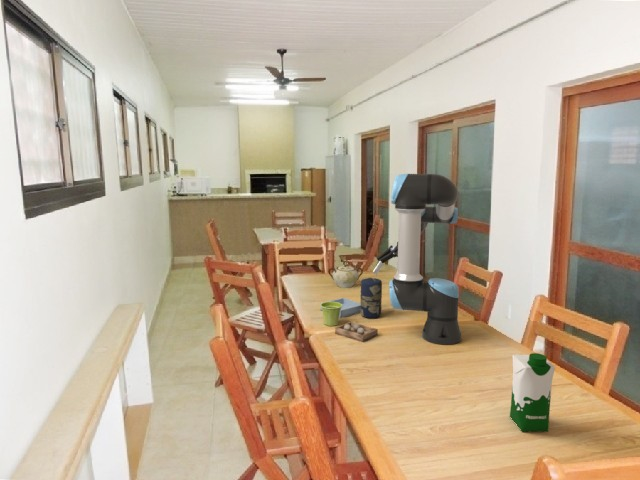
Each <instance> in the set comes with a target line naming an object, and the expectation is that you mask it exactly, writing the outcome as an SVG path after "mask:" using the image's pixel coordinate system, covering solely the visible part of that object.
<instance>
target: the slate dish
mask: <svg viewBox="0 0 640 480" xmlns="http://www.w3.org/2000/svg"><path fill="white" fill-rule="evenodd" d="M324 302H325V301H323V302H320V311H321V312H323V311H322V307H321V304H322V303H324ZM326 302H338V303H341V304H342V307H341V310H340V314H339V319H343V318H346V317H350V316H353V315H357V314H361V304H360V303H361V302H358V301H355V300H352V299H349V298H346V297H342V298H337V299H333V300H328V301H326ZM342 317H343V318H342Z"/></svg>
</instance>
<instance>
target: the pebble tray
mask: <svg viewBox="0 0 640 480" xmlns="http://www.w3.org/2000/svg"><path fill="white" fill-rule="evenodd" d="M378 333H379V332H378V329H377V328H375V327H371V326H367V325H363V324H360V323H356V322H353V321H348V322H346V323H343V324H341V325H338V326H336V327H335V331H334V334H336V335H339V336H340V337H341V336H343V337H345V338H349V339H352V340H355V341H357V342H362V343H364V342H366V341H368V340H370V339H372V338H375V337H377V336H378Z"/></svg>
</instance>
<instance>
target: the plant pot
mask: <svg viewBox="0 0 640 480" xmlns="http://www.w3.org/2000/svg"><path fill="white" fill-rule="evenodd" d="M323 302H324V303H323ZM323 302H321V303H322V304H321V307H322V311H321V312H322V317H323V318H322V319H323V324H324V325H325V326H327V327H334V326H337V325H338V326H339V320H340V318H339V314H340V310H341V307H342V304H341V303H338V302H327V301H323Z"/></svg>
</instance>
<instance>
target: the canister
mask: <svg viewBox="0 0 640 480" xmlns="http://www.w3.org/2000/svg"><path fill="white" fill-rule="evenodd" d="M382 287H383V281H382V280H381V279H379V278H373V277H368V278H367V277H366V278H363V279H361V280H360V302H359V303H360V304H361V313H360V315H361V316H362V317H364V318H368V319H369V318H370V319H374V318H379V317H380V316H381V315H382V298H383V296H382V295H383V291H382V290H383V288H382Z"/></svg>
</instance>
